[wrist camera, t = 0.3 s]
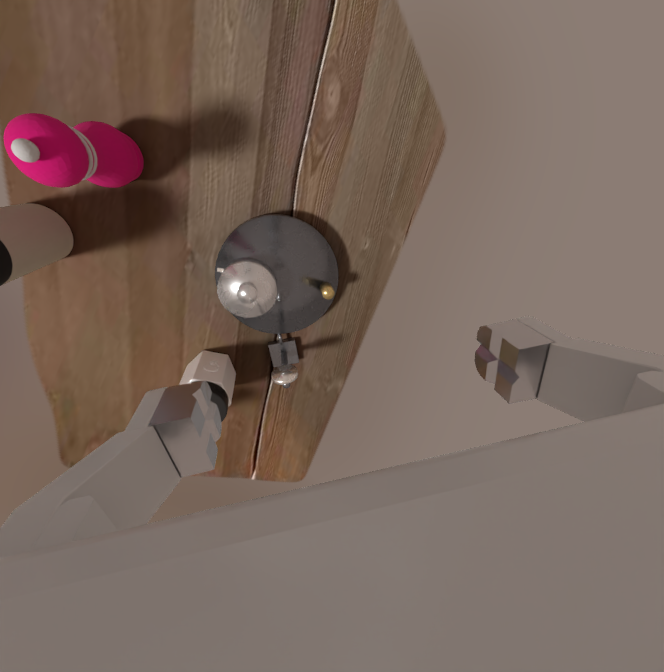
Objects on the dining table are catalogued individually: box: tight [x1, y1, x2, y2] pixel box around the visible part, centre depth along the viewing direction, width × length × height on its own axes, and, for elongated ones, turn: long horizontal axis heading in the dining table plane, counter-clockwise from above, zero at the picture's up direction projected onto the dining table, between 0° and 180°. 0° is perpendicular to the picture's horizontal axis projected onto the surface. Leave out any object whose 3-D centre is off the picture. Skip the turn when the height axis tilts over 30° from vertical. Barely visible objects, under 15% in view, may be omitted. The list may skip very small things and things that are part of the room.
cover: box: [217, 258, 277, 318], centre depth 50 cm, size 9×9×4 cm
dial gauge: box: [268, 334, 299, 388], centre depth 56 cm, size 7×5×12 cm
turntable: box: [215, 214, 338, 334], centre depth 52 cm, size 20×20×5 cm
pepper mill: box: [4, 113, 143, 188], centre depth 35 cm, size 7×7×20 cm
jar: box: [179, 350, 236, 422], centre depth 56 cm, size 9×8×12 cm
